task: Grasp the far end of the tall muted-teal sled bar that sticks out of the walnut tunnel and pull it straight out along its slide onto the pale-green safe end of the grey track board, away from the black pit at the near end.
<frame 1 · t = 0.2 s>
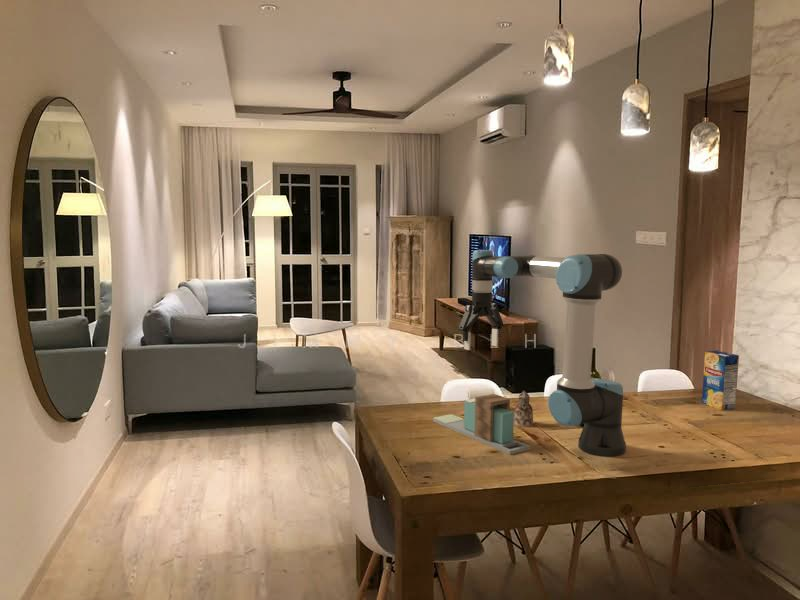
hand: (481, 347, 250), 27 cm above the table, fingers open, 13 cm apart
track board: (485, 437, 231), on the table
tunnel: (491, 440, 228), resting on track board
figurine: (523, 424, 247), on the table
sled: (488, 419, 229), point 7 cm above the table, slide at 0.0 cm
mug: (480, 407, 269), on the table
blue cardboard box: (718, 406, 273), on the table
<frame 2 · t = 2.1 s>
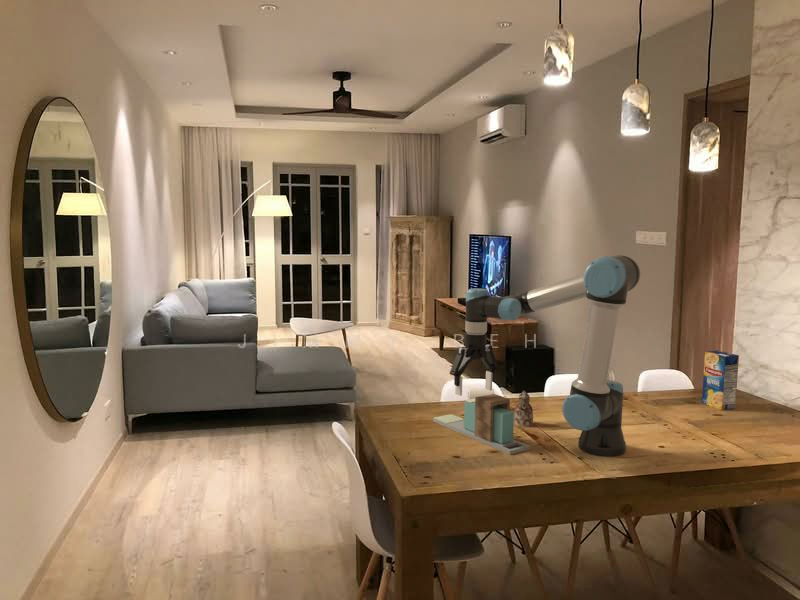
hand: (473, 392, 234), 15 cm above the table, fingers open, 13 cm apart
nothing on the table moved.
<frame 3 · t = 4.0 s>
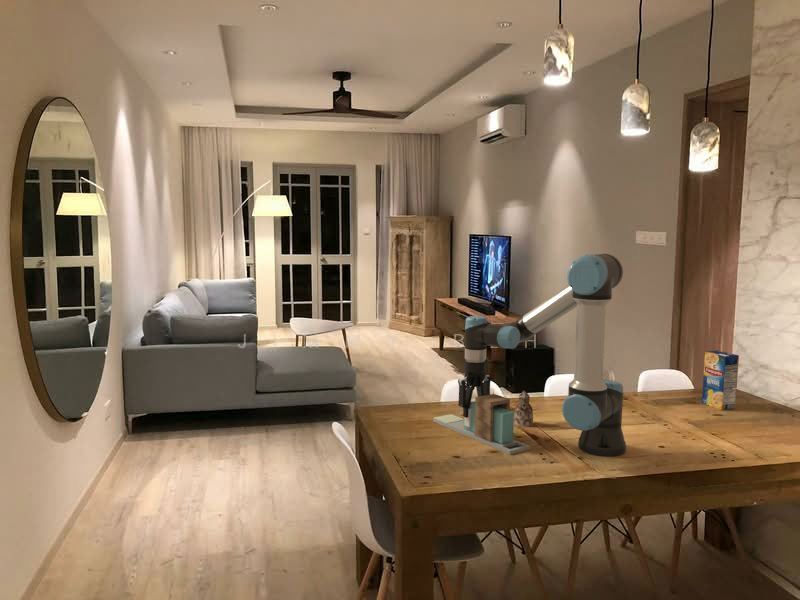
hand: (473, 424, 236), 3 cm above the table, fingers closed on sled, 5 cm apart
sled: (488, 419, 229), point 7 cm above the table, slide at 0.0 cm, touching gripper
everything else where it was.
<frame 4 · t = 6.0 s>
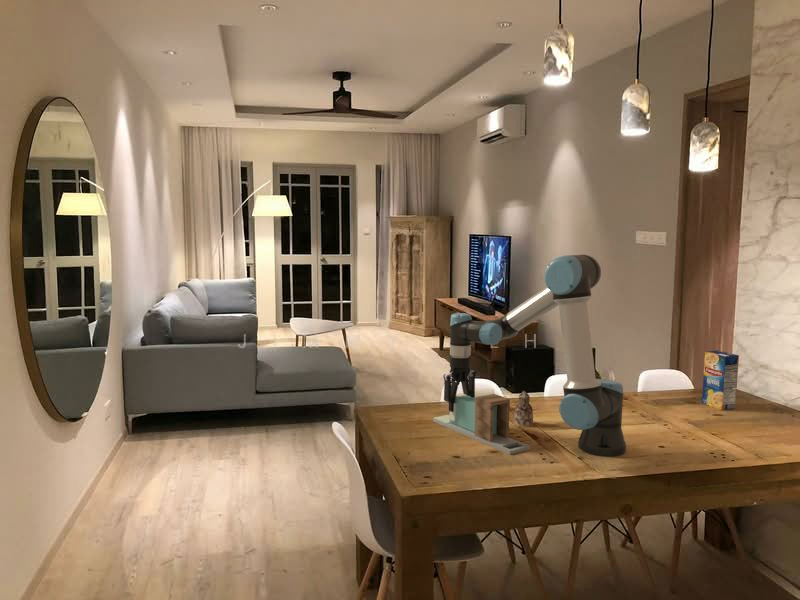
hand: (459, 418, 243), 3 cm above the table, fingers closed on sled, 5 cm apart
sled: (472, 413, 236), point 7 cm above the table, slide at 8.4 cm, touching gripper
everything else where it was.
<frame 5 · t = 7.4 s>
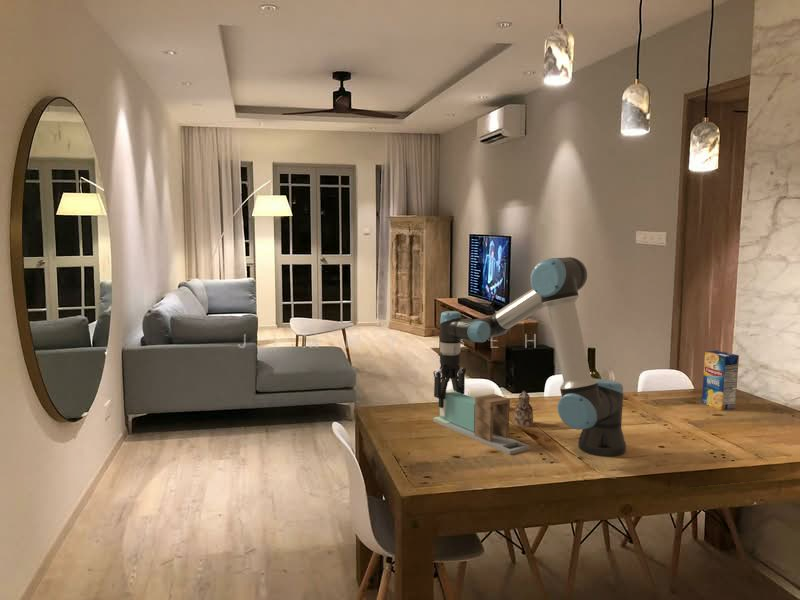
hand: (449, 414, 248), 3 cm above the table, fingers closed on sled, 5 cm apart
sled: (461, 409, 241), point 7 cm above the table, slide at 14.4 cm, touching gripper
everything else where it was.
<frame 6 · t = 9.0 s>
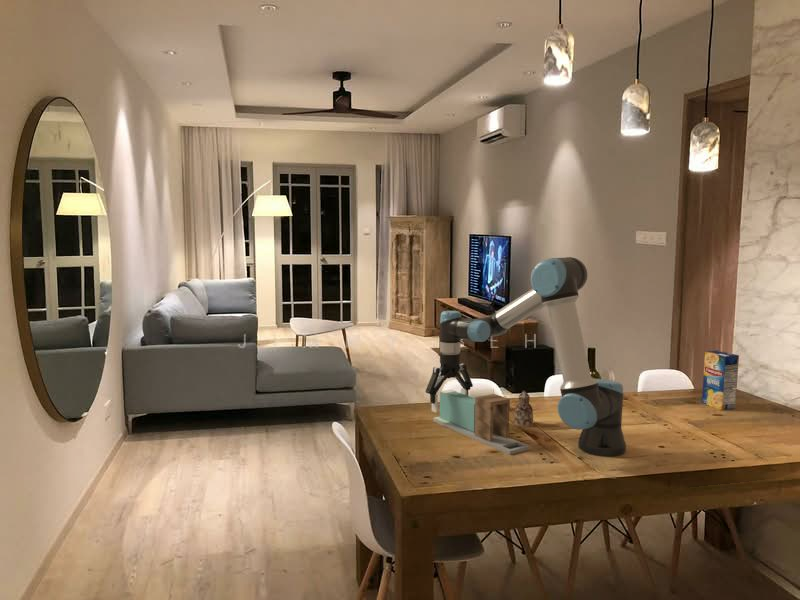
hand: (449, 409, 247), 5 cm above the table, fingers open, 13 cm apart
sled: (461, 409, 241), point 7 cm above the table, slide at 14.5 cm
everything else where it was.
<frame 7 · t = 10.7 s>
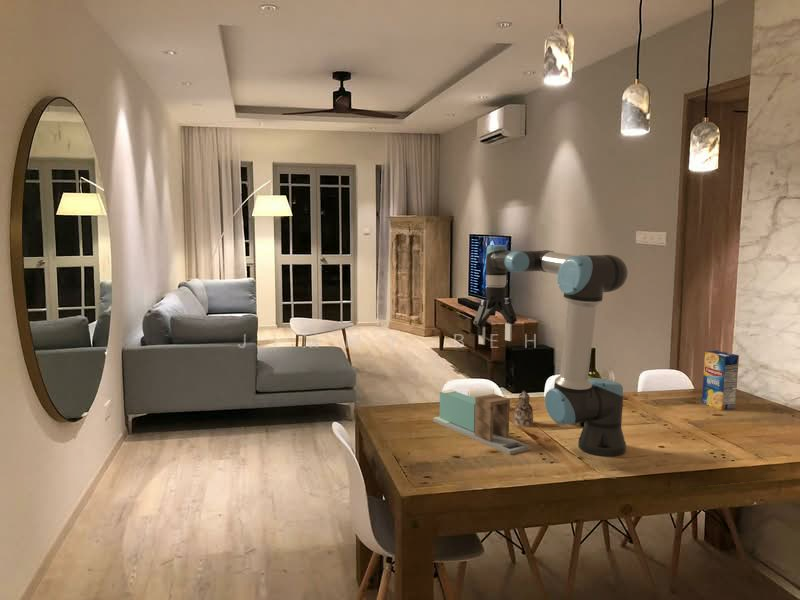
hand: (495, 342, 251), 29 cm above the table, fingers open, 13 cm apart
nothing on the table moved.
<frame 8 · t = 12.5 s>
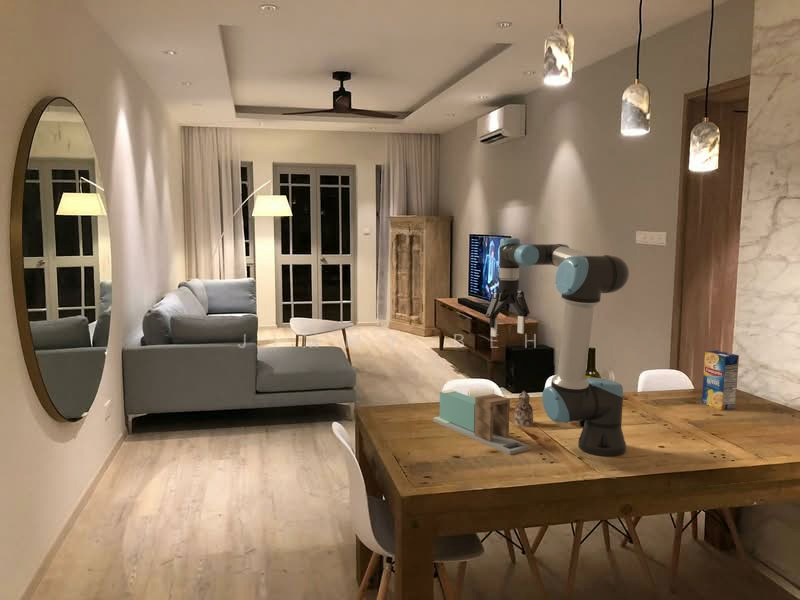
hand: (507, 334, 253), 32 cm above the table, fingers open, 13 cm apart
nothing on the table moved.
at the end: sled slide at 14.5 cm; the gripper is holding nothing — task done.
